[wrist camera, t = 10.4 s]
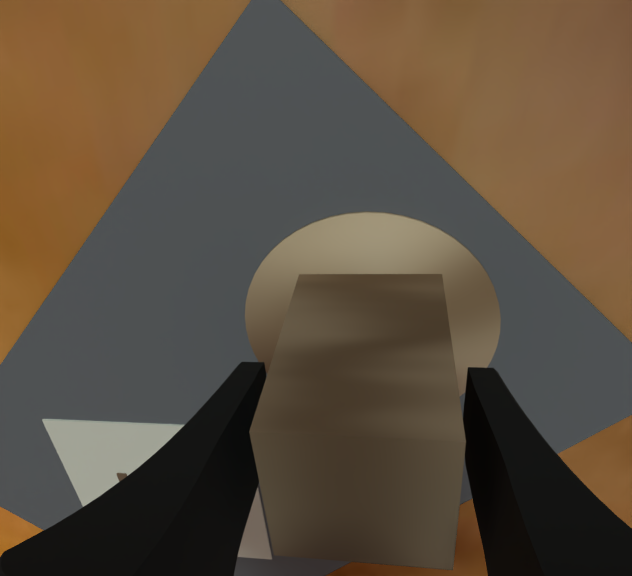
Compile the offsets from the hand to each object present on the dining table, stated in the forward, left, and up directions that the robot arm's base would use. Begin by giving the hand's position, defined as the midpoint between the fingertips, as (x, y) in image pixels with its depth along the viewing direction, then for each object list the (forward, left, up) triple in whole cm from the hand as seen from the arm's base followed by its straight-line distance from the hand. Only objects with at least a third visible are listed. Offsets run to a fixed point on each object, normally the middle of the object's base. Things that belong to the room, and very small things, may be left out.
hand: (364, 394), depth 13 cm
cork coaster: (0, 0, -3) cm, 3 cm away
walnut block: (0, 0, -3) cm, 3 cm away
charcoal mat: (0, +7, -3) cm, 8 cm away
